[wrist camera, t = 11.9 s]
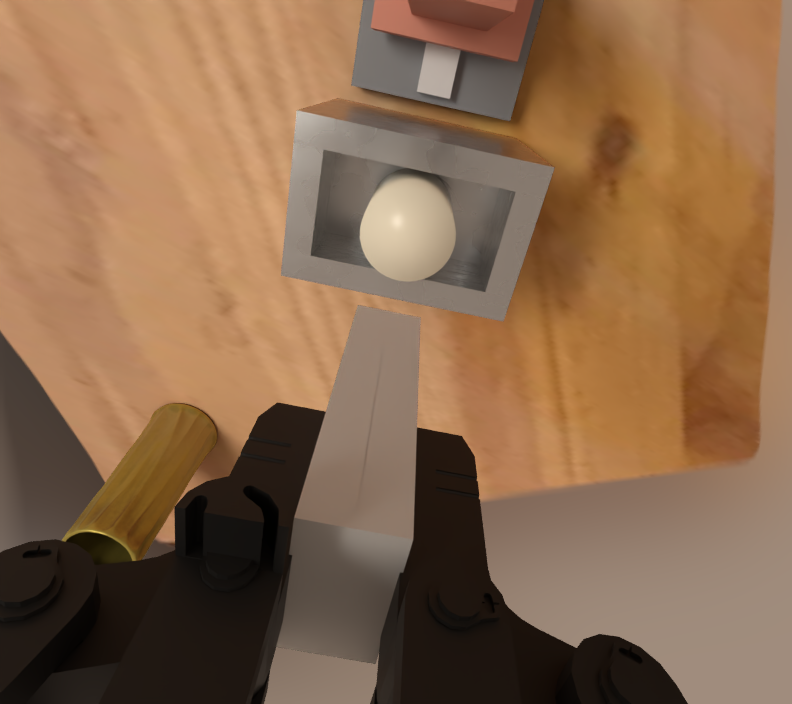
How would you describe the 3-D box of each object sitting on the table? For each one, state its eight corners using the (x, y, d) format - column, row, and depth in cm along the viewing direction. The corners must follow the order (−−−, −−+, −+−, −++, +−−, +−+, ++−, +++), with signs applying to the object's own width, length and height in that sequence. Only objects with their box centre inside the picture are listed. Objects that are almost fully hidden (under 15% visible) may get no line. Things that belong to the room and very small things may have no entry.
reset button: (378, 159, 27) (368, 177, 22) (460, 177, 27) (466, 198, 23) (364, 240, 29) (352, 271, 25) (440, 257, 29) (443, 289, 25)
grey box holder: (337, 98, 34) (296, 110, 23) (525, 140, 34) (568, 170, 24) (322, 218, 38) (281, 275, 27) (491, 254, 38) (515, 323, 28)
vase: (139, 429, 48) (37, 556, 35) (173, 389, 46) (76, 510, 33) (195, 465, 50) (117, 598, 37) (230, 429, 47) (159, 557, 35)
